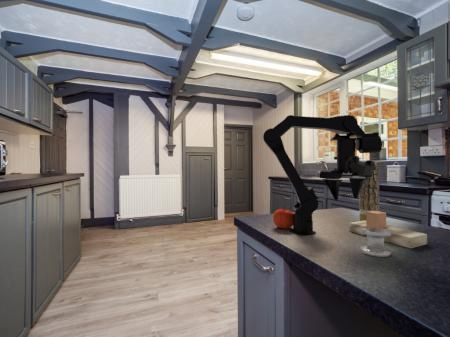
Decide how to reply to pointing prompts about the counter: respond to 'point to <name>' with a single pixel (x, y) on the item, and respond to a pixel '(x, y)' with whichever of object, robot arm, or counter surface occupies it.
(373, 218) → the tab block
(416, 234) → the notched board
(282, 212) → the apple
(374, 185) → the paper tube
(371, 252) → the bobbin
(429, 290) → the counter surface
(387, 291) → the counter surface
